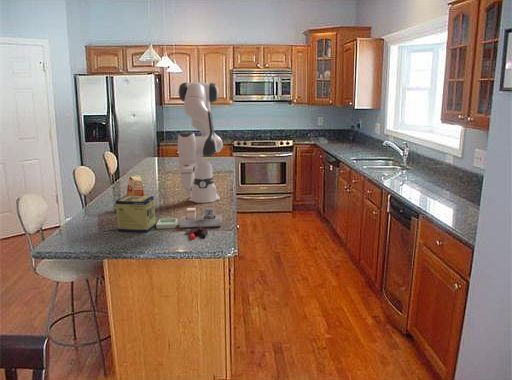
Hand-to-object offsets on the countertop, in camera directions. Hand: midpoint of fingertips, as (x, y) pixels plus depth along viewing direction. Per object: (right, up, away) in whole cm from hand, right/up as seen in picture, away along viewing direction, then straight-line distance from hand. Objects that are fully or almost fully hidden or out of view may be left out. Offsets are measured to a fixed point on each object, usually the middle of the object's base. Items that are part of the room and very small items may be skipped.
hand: (189, 193), depth 214 cm
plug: (+1, -16, +3) cm, 16 cm away
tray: (-12, -16, +5) cm, 20 cm away
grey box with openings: (+5, -16, +1) cm, 17 cm away
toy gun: (+4, -20, -12) cm, 24 cm away
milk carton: (-36, -9, +39) cm, 54 cm away
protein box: (-26, -18, +1) cm, 31 cm away
